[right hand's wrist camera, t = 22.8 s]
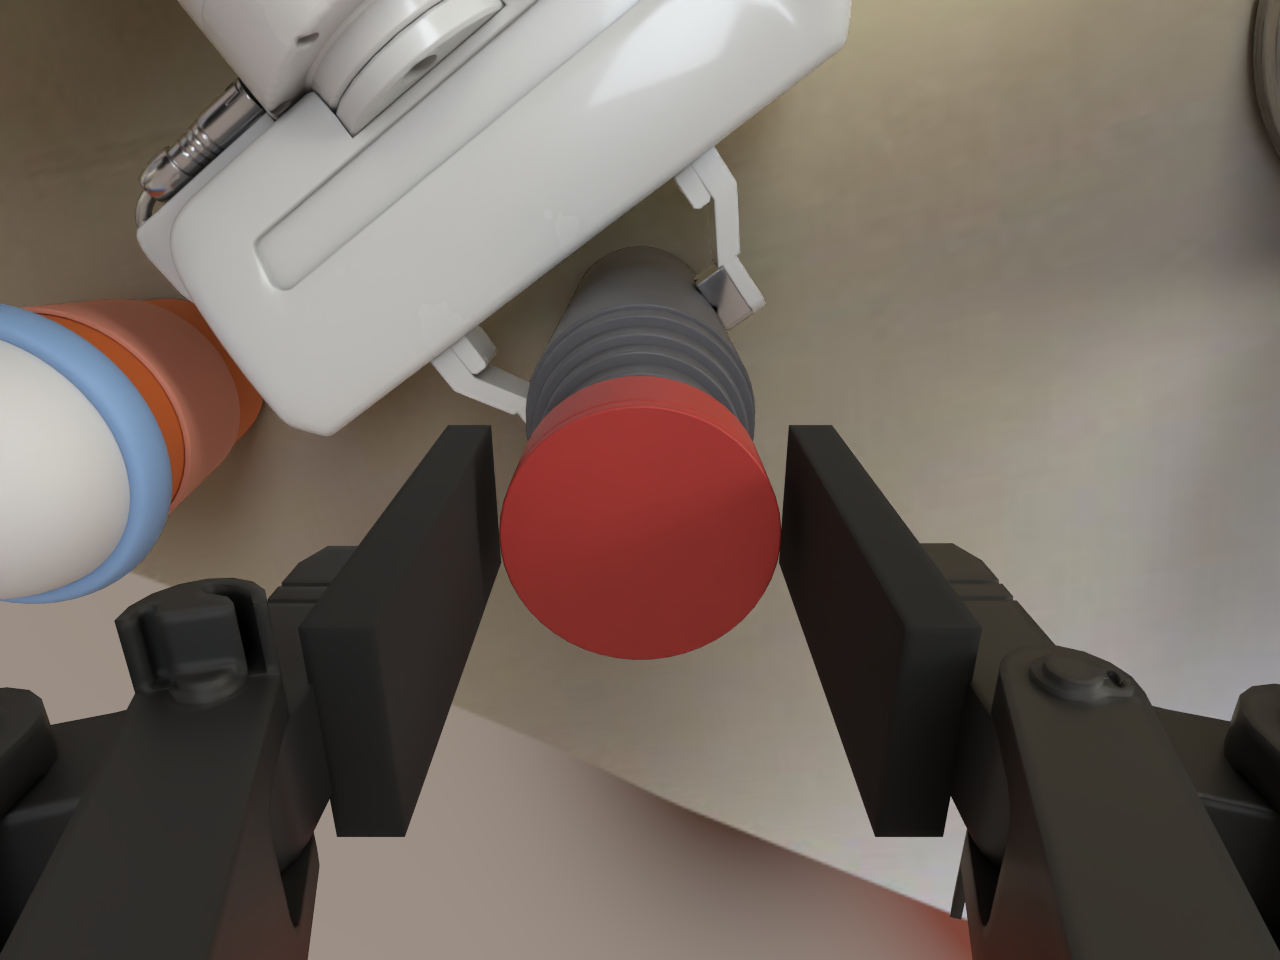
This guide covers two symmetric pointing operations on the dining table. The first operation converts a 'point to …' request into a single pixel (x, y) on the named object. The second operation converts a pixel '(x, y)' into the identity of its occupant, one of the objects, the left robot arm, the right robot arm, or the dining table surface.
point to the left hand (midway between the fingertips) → (657, 376)
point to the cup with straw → (105, 435)
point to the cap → (640, 520)
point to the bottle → (639, 336)
